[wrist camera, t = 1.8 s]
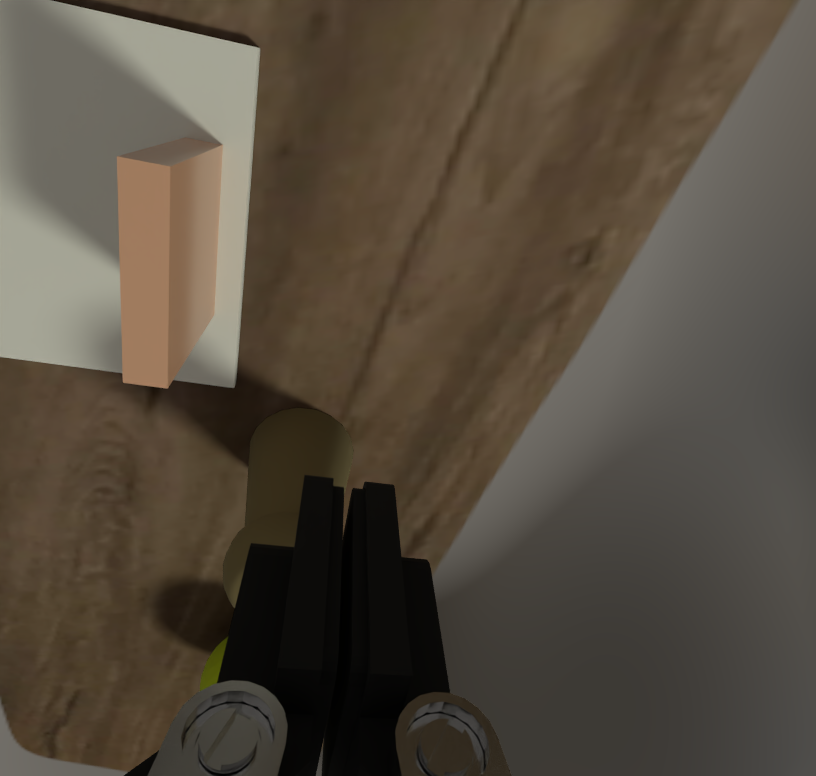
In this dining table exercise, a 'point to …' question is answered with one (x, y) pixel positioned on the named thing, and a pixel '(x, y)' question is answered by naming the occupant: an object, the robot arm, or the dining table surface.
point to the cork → (284, 480)
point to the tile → (167, 254)
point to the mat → (108, 173)
